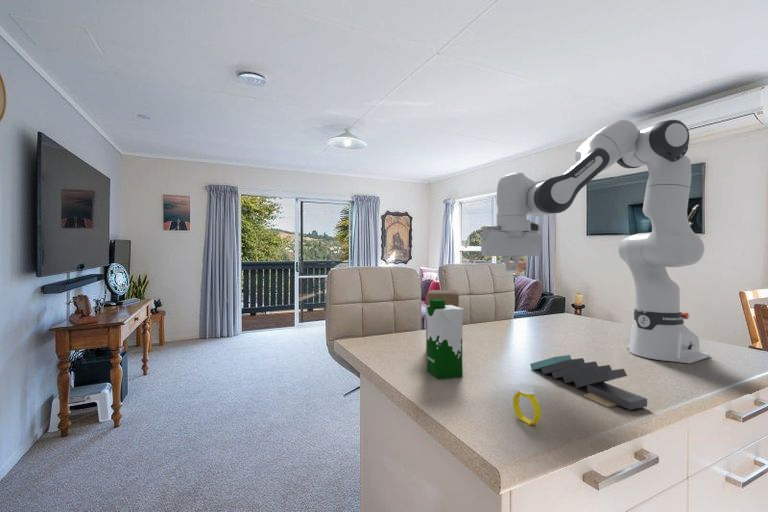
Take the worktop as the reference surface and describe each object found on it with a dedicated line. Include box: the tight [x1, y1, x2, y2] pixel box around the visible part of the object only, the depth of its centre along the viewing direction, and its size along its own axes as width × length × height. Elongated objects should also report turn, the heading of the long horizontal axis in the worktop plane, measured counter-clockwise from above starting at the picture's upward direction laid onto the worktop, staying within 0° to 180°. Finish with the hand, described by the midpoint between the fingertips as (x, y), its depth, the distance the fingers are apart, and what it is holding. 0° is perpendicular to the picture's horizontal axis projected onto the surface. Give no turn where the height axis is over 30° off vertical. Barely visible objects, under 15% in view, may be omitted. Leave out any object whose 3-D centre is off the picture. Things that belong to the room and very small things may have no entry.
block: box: [425, 289, 460, 354], centre depth 116 cm, size 10×10×20 cm
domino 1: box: [529, 354, 572, 370], centre depth 96 cm, size 2×5×10 cm
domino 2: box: [540, 357, 586, 375], centre depth 92 cm, size 2×5×10 cm
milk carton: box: [425, 299, 465, 380], centre depth 96 cm, size 9×9×20 cm
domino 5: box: [573, 368, 628, 388], centre depth 82 cm, size 2×5×10 cm
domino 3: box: [551, 361, 599, 380], centre depth 89 cm, size 2×5×10 cm
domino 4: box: [562, 364, 612, 384], centre depth 85 cm, size 2×5×10 cm
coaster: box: [583, 392, 619, 408], centre depth 79 cm, size 9×6×1 cm, turn 109°
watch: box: [512, 388, 542, 426], centre depth 69 cm, size 6×3×6 cm, turn 22°
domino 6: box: [586, 382, 648, 411], centre depth 78 cm, size 2×5×10 cm
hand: (511, 270), depth 111 cm, fingers closed
